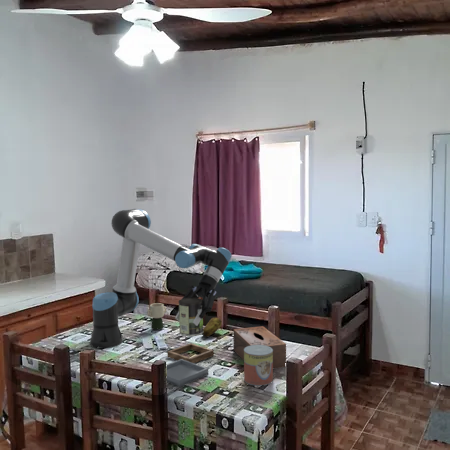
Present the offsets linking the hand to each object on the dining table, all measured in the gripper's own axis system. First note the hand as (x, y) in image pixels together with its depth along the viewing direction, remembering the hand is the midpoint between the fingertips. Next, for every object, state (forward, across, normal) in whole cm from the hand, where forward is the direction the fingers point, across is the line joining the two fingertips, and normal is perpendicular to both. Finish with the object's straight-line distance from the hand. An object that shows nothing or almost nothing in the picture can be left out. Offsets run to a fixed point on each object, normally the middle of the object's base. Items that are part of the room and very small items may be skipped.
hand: (186, 321), depth 200 cm
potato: (-11, +17, -37) cm, 43 cm away
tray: (+20, -8, -5) cm, 22 cm away
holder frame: (+8, +4, -17) cm, 19 cm away
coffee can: (+2, 0, -6) cm, 6 cm away
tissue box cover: (-3, -20, -30) cm, 36 cm away
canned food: (+9, -34, -16) cm, 39 cm away
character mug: (-3, +46, -29) cm, 54 cm away
